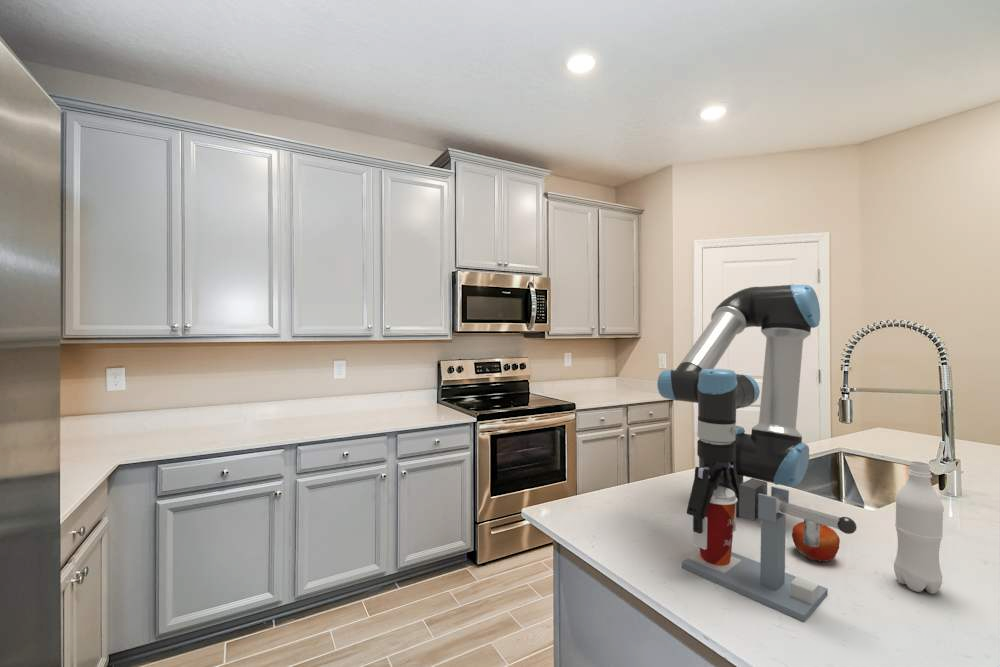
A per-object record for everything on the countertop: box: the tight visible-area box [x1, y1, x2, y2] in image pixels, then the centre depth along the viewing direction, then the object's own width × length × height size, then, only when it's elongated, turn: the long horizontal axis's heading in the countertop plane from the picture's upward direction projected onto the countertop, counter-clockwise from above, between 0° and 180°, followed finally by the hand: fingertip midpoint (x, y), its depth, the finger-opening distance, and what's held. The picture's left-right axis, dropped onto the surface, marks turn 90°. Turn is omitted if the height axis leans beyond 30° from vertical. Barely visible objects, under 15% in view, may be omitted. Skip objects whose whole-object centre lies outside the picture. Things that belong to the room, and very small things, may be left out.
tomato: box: [791, 521, 841, 562], centre depth 103 cm, size 9×9×8 cm
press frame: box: [681, 485, 829, 623], centre depth 93 cm, size 23×13×20 cm, turn 39°
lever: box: [738, 478, 857, 547], centre depth 87 cm, size 18×6×9 cm, turn 39°
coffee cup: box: [699, 486, 738, 565], centre depth 99 cm, size 8×8×15 cm
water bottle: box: [893, 460, 945, 595], centre depth 91 cm, size 7×7×25 cm
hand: (714, 537), depth 99 cm, fingers open, 13 cm apart
